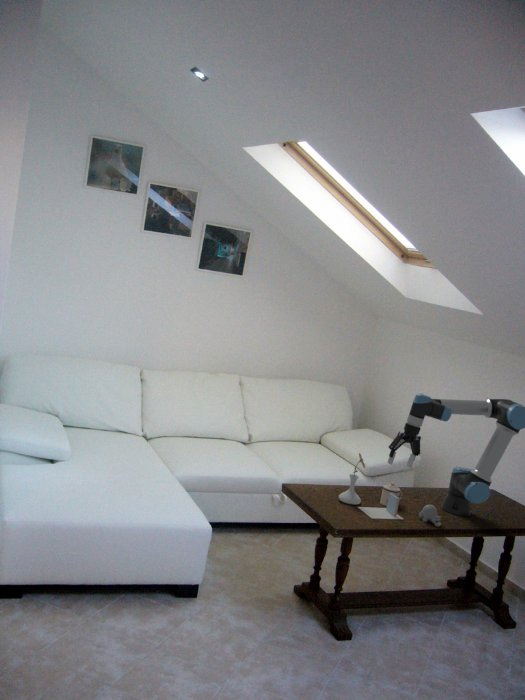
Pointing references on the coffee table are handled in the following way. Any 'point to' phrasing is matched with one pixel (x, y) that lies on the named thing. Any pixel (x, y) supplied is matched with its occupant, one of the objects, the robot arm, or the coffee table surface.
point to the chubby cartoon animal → (430, 515)
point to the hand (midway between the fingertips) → (399, 465)
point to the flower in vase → (352, 488)
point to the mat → (378, 513)
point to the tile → (392, 504)
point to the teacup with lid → (389, 489)
